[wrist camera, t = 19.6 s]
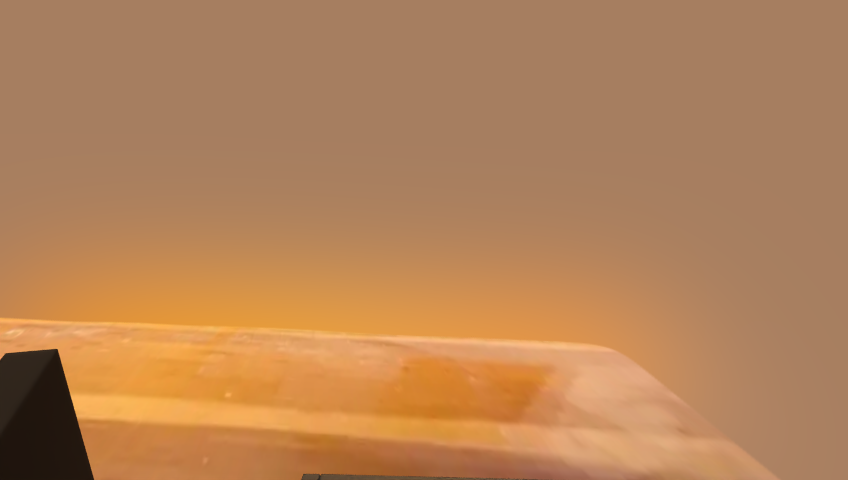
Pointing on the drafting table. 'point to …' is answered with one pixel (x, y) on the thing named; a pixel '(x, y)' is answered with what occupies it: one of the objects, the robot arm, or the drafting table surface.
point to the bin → (387, 477)
